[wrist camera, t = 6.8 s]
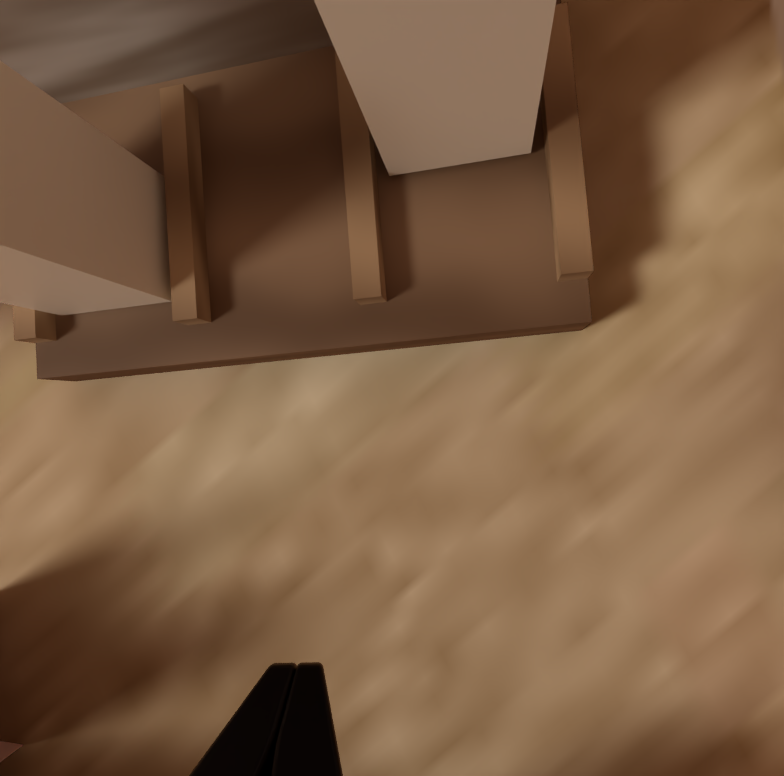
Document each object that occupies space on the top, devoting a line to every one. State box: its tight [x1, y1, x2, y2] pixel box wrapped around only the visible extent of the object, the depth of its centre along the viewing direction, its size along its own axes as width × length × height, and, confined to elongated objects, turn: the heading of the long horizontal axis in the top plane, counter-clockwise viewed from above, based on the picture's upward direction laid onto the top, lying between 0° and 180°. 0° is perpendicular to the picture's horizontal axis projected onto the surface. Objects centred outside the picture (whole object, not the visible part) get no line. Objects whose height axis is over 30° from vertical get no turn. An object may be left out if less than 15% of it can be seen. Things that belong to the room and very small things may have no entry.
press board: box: [0, 0, 594, 381], centre depth 18 cm, size 14×22×8 cm, turn 95°
